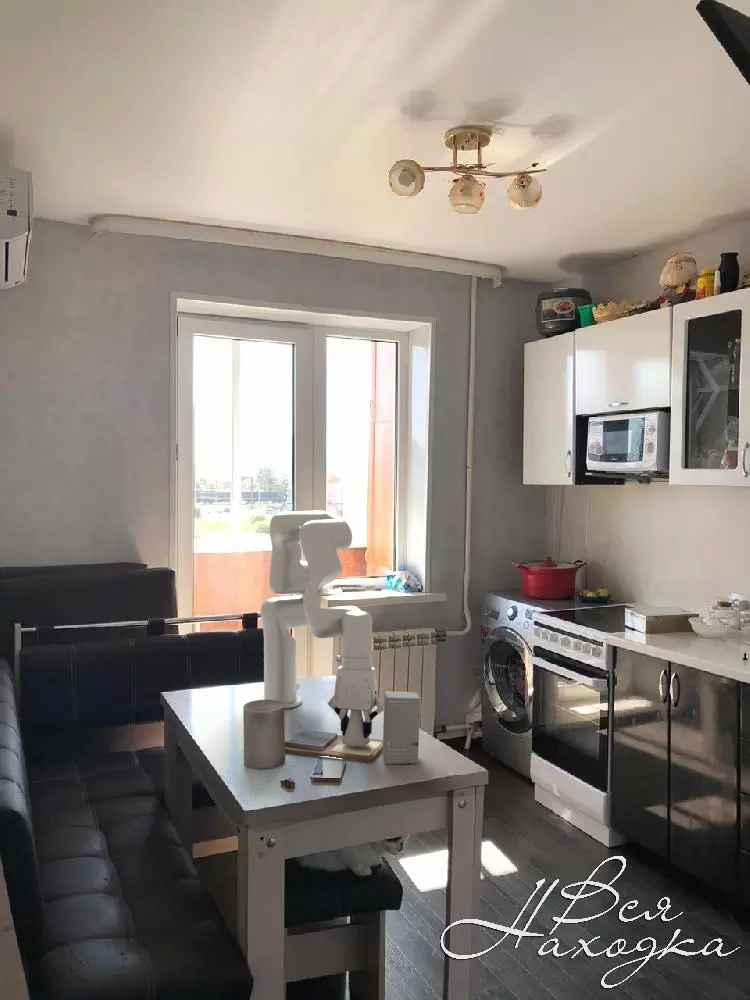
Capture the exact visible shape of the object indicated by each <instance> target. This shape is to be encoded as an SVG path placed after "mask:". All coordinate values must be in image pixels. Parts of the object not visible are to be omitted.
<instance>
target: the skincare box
mask: <svg viewBox="0 0 750 1000" xmlns="http://www.w3.org/2000/svg"><path fill="white" fill-rule="evenodd" d="M383 694H384V695H383V696H384V697H383V701H384V703H383V705H384V711H383V724H382V725H383V731H382V732H383V733H382V740H383V751H382V757H383V761H384V763H385V765H401V764H404V765H405V764H407V765H409V764H419V749H420V748H419V745H420V744H419V742H420V713H421V712H420V708H421V703H420V702H421V701H420V700H421V698H420V695H419V693H418V692H415V691H414V692H413V691H411V692H410V691H384V692H383ZM408 763H409V764H408Z"/></svg>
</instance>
